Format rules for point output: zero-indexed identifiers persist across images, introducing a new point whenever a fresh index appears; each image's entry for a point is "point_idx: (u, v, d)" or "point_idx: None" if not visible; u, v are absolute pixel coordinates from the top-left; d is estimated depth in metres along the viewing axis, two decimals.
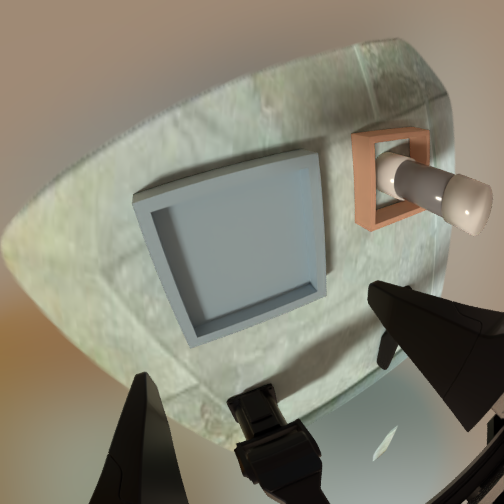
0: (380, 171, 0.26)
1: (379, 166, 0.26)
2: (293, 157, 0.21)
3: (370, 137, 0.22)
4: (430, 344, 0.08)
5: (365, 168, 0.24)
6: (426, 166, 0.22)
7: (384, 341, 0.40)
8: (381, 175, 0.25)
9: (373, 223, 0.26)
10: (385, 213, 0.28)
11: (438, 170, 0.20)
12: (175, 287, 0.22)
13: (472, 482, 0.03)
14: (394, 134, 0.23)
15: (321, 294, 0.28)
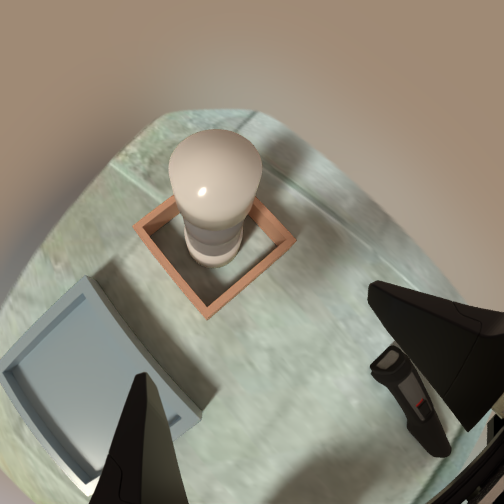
0: None
1: None
2: None
3: (134, 225, 0.22)
4: (430, 344, 0.08)
5: None
6: None
7: (412, 430, 0.21)
8: (189, 250, 0.23)
9: (202, 307, 0.20)
10: None
11: None
12: (40, 433, 0.15)
13: (472, 482, 0.03)
14: (166, 201, 0.22)
15: (191, 421, 0.18)
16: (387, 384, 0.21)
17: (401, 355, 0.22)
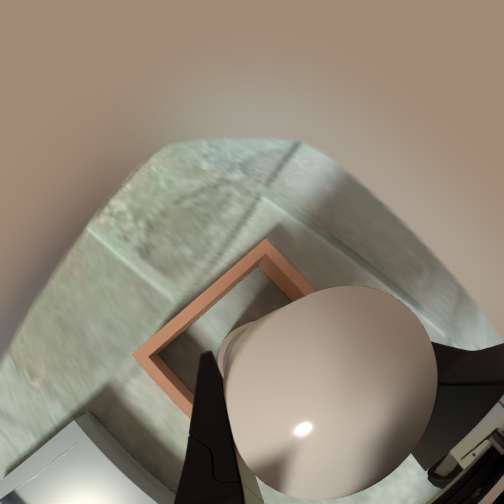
0: None
1: None
2: None
3: (135, 352, 0.13)
4: None
5: None
6: (239, 336, 0.11)
7: None
8: None
9: None
10: None
11: None
12: None
13: (472, 482, 0.03)
14: (182, 312, 0.14)
15: None
16: None
17: None
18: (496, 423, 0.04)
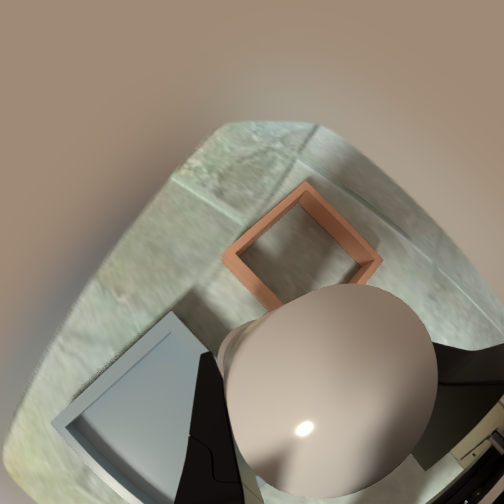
0: None
1: None
2: (150, 330, 0.19)
3: (225, 251, 0.21)
4: None
5: (251, 285, 0.21)
6: (239, 336, 0.11)
7: None
8: None
9: None
10: None
11: None
12: (122, 487, 0.14)
13: (472, 482, 0.03)
14: (257, 224, 0.22)
15: None
16: None
17: None
18: (496, 423, 0.04)
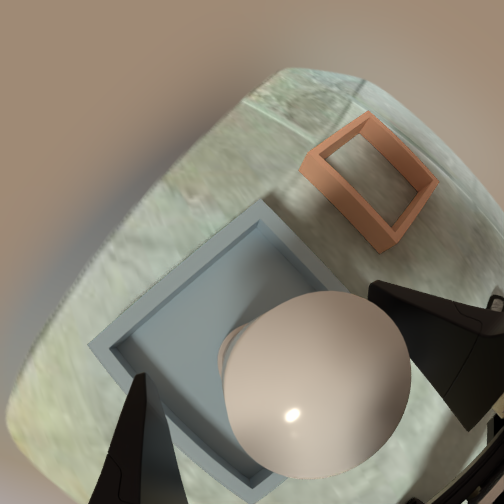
0: None
1: None
2: None
3: (309, 152, 0.20)
4: (430, 344, 0.08)
5: (334, 185, 0.20)
6: None
7: None
8: None
9: (392, 232, 0.19)
10: (401, 218, 0.21)
11: None
12: (181, 432, 0.14)
13: (472, 482, 0.03)
14: (334, 134, 0.21)
15: None
16: None
17: None
18: None
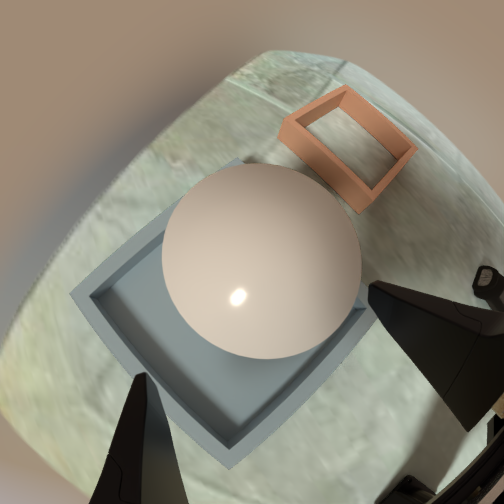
0: None
1: None
2: None
3: (286, 118, 0.21)
4: (430, 344, 0.08)
5: (310, 148, 0.21)
6: None
7: None
8: None
9: (368, 190, 0.20)
10: None
11: None
12: (155, 381, 0.14)
13: (472, 482, 0.03)
14: (310, 104, 0.22)
15: None
16: (492, 298, 0.20)
17: (493, 270, 0.21)
18: None
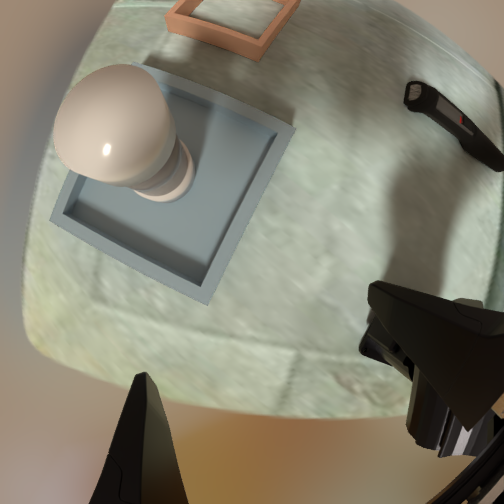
0: None
1: None
2: None
3: (166, 14, 0.17)
4: (430, 344, 0.08)
5: (194, 28, 0.18)
6: None
7: (470, 149, 0.22)
8: None
9: (254, 40, 0.18)
10: None
11: None
12: (127, 251, 0.19)
13: (472, 482, 0.03)
14: None
15: (288, 132, 0.19)
16: (427, 110, 0.21)
17: (422, 83, 0.21)
18: None
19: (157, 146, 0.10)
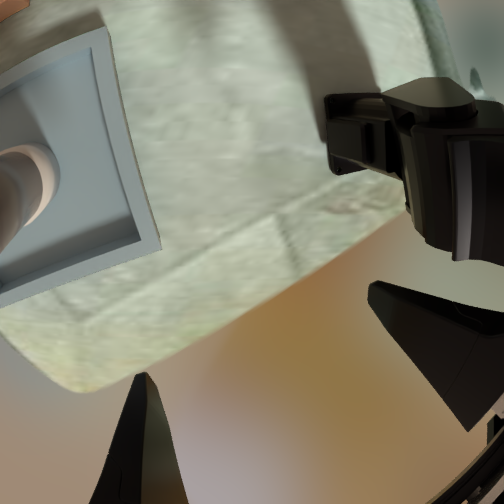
0: None
1: None
2: None
3: None
4: (430, 344, 0.08)
5: None
6: None
7: None
8: None
9: None
10: None
11: None
12: (62, 270, 0.15)
13: (472, 482, 0.03)
14: None
15: (100, 36, 0.10)
16: None
17: None
18: None
19: None
